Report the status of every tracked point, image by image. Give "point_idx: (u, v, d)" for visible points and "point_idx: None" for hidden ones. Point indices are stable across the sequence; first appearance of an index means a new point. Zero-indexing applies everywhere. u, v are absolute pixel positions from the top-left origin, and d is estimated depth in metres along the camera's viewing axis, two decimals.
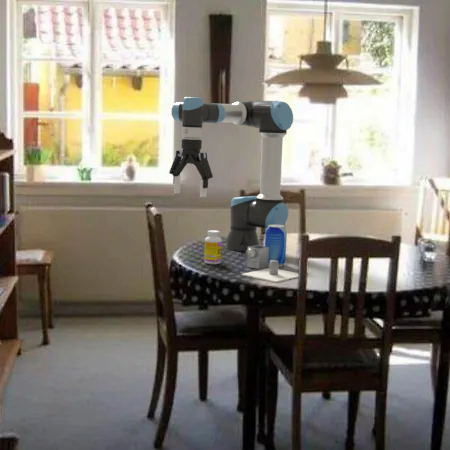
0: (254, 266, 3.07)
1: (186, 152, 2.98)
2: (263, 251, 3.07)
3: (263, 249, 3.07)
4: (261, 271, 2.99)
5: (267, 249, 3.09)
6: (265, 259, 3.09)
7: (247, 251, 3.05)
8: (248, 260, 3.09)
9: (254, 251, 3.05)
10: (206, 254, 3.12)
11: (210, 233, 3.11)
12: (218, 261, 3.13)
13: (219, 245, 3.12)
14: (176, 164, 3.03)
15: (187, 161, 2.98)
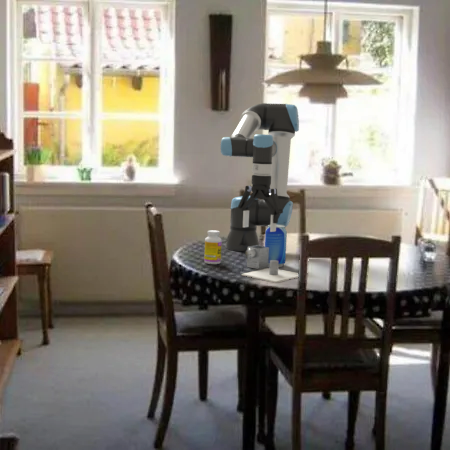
0: (254, 266, 3.07)
1: (256, 188, 3.06)
2: (263, 251, 3.07)
3: (263, 249, 3.07)
4: (261, 271, 2.99)
5: (267, 249, 3.09)
6: (265, 259, 3.09)
7: (247, 251, 3.05)
8: (248, 260, 3.09)
9: (254, 251, 3.05)
10: (206, 254, 3.12)
11: (210, 233, 3.11)
12: (218, 261, 3.13)
13: (219, 245, 3.12)
14: (245, 199, 3.11)
15: (257, 196, 3.06)
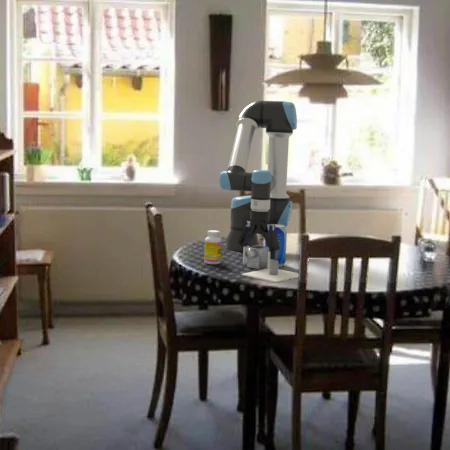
0: (254, 266, 3.07)
1: (254, 222, 3.08)
2: (263, 251, 3.07)
3: (263, 249, 3.07)
4: (261, 271, 2.99)
5: (267, 249, 3.09)
6: (265, 259, 3.09)
7: (247, 251, 3.05)
8: (248, 260, 3.09)
9: (254, 251, 3.05)
10: (206, 254, 3.12)
11: (210, 233, 3.11)
12: (218, 261, 3.13)
13: (219, 245, 3.12)
14: (244, 234, 3.13)
15: (255, 231, 3.08)
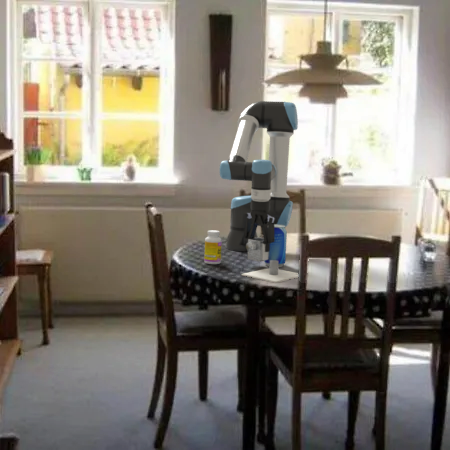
0: (255, 258, 3.08)
1: (254, 211, 3.08)
2: None
3: None
4: (261, 271, 2.99)
5: None
6: None
7: (248, 244, 3.06)
8: (249, 252, 3.09)
9: (255, 244, 3.06)
10: (206, 254, 3.12)
11: (210, 233, 3.11)
12: (218, 261, 3.13)
13: (219, 245, 3.12)
14: (248, 227, 3.12)
15: (256, 221, 3.08)
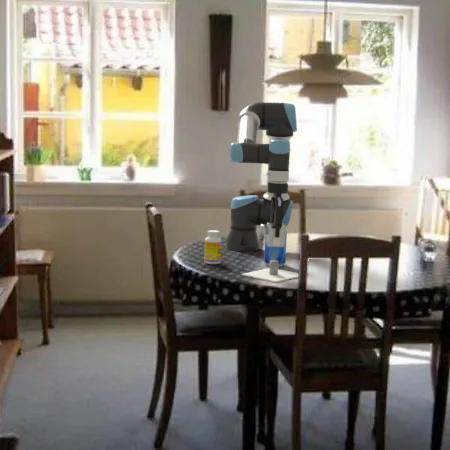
0: (267, 243, 2.92)
1: (273, 194, 2.92)
2: None
3: None
4: (261, 271, 2.99)
5: (282, 227, 2.90)
6: None
7: (260, 226, 2.93)
8: (266, 237, 2.95)
9: (265, 227, 2.91)
10: (206, 254, 3.12)
11: (210, 233, 3.11)
12: (218, 261, 3.13)
13: (219, 245, 3.12)
14: None
15: None
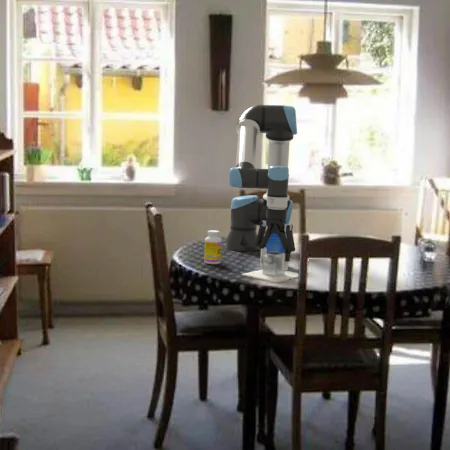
0: (270, 273, 2.92)
1: (270, 221, 2.93)
2: (280, 257, 2.92)
3: (280, 255, 2.92)
4: (261, 271, 2.99)
5: None
6: None
7: (263, 257, 2.90)
8: (264, 267, 2.94)
9: (270, 257, 2.90)
10: (206, 254, 3.12)
11: (210, 233, 3.11)
12: (218, 261, 3.13)
13: (219, 245, 3.12)
14: (261, 235, 2.97)
15: (272, 231, 2.93)
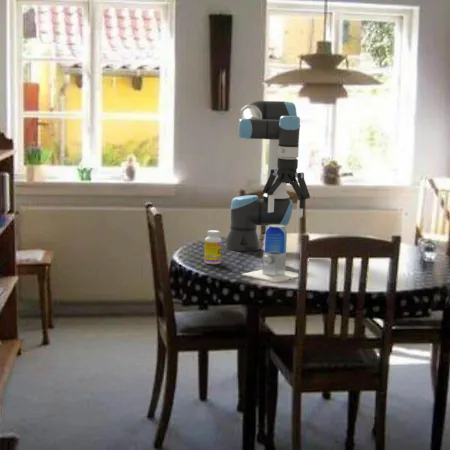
0: (270, 273, 2.92)
1: (282, 171, 2.94)
2: (280, 257, 2.92)
3: (280, 255, 2.92)
4: (261, 271, 2.99)
5: (284, 255, 2.94)
6: (282, 266, 2.94)
7: (263, 257, 2.90)
8: (264, 267, 2.94)
9: (270, 257, 2.90)
10: (206, 254, 3.12)
11: (210, 233, 3.11)
12: (218, 261, 3.13)
13: (219, 245, 3.12)
14: (270, 183, 2.99)
15: (283, 180, 2.94)
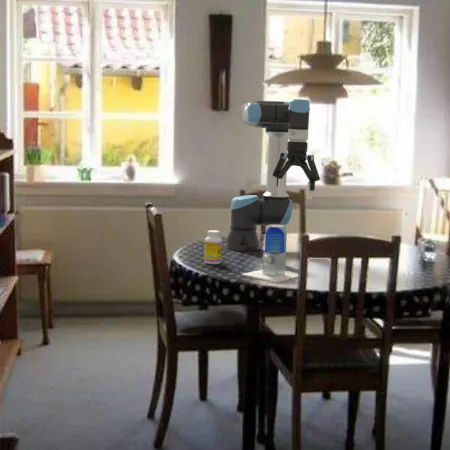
0: (270, 273, 2.92)
1: (292, 154, 2.97)
2: (280, 257, 2.92)
3: (280, 255, 2.92)
4: (261, 271, 2.99)
5: (284, 255, 2.94)
6: (282, 266, 2.94)
7: (263, 257, 2.90)
8: (264, 267, 2.94)
9: (270, 257, 2.90)
10: (206, 254, 3.12)
11: (210, 233, 3.11)
12: (218, 261, 3.13)
13: (219, 245, 3.12)
14: (280, 166, 3.02)
15: (293, 163, 2.97)
